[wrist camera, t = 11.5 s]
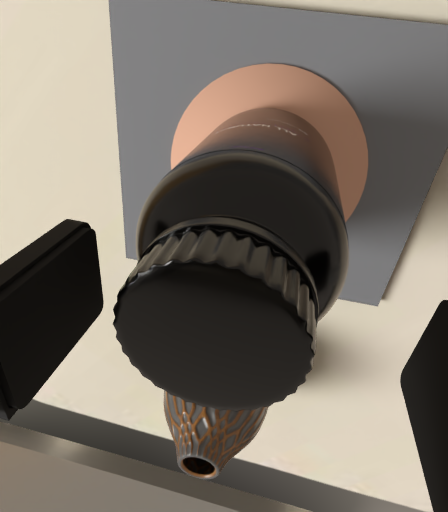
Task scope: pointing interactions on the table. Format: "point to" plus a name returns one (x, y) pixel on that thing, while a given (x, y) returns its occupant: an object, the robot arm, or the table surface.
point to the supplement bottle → (236, 264)
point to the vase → (209, 434)
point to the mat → (288, 106)
